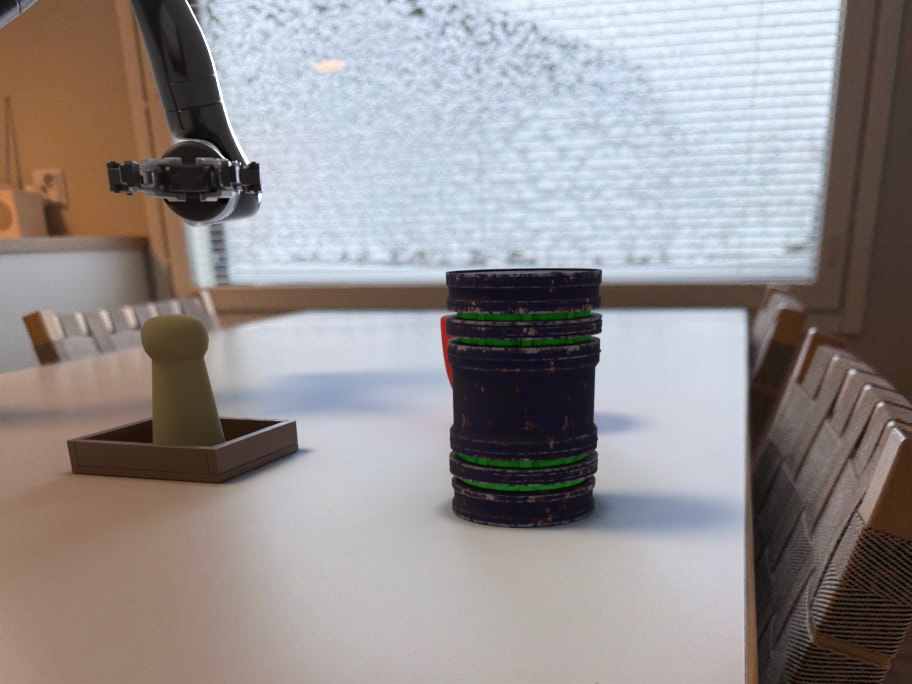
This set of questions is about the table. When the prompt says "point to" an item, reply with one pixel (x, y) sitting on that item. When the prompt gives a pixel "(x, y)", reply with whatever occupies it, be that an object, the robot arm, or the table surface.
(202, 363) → the olive green pepper mill
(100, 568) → the table surface
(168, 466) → the serving tray
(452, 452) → the storage jar
